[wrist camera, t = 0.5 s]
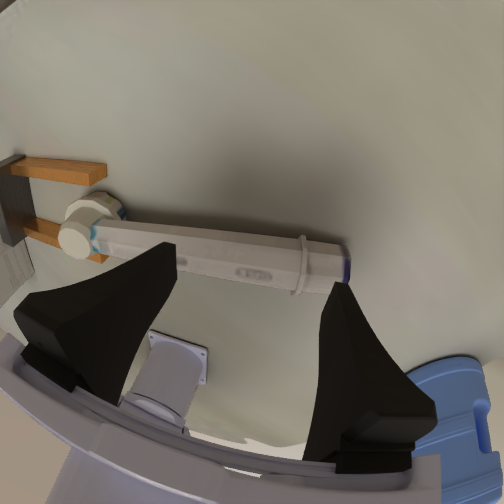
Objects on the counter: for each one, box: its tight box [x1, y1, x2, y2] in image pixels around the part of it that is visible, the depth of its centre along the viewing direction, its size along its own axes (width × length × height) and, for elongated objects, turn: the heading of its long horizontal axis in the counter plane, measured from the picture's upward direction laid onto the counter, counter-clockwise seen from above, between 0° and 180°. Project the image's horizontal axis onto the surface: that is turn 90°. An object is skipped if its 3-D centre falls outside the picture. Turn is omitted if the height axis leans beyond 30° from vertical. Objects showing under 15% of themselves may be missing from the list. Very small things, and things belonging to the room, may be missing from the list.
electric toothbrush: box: [58, 191, 351, 296], centre depth 22 cm, size 5×7×25 cm
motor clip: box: [0, 155, 109, 264], centre depth 23 cm, size 10×17×5 cm, turn 82°
